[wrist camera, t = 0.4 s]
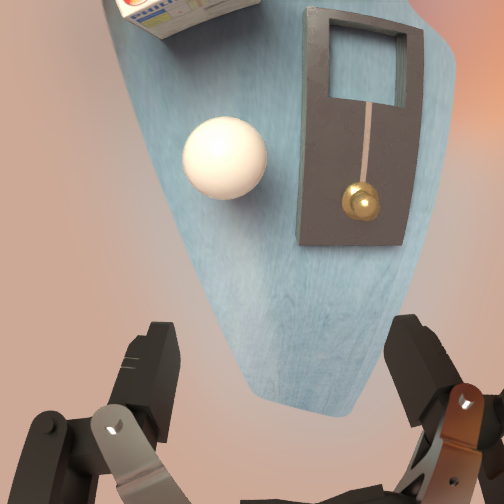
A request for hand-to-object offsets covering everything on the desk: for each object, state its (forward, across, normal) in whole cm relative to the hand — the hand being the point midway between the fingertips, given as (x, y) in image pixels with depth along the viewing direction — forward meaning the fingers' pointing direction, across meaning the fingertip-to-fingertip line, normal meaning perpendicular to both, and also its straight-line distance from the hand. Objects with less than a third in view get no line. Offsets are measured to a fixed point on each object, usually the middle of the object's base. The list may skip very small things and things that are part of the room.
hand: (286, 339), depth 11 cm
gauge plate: (+23, -10, -5) cm, 26 cm away
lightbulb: (+24, +3, -3) cm, 24 cm away
